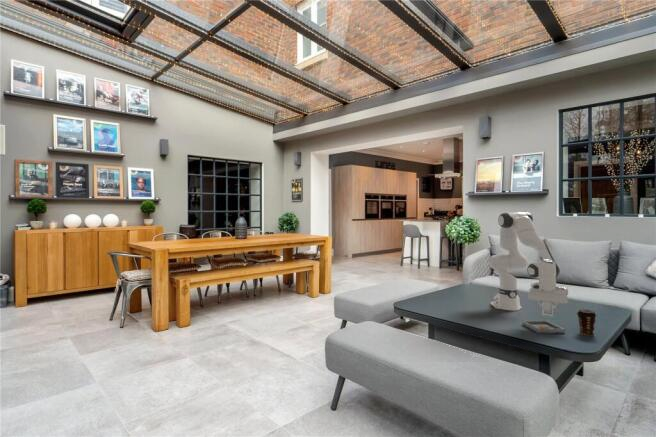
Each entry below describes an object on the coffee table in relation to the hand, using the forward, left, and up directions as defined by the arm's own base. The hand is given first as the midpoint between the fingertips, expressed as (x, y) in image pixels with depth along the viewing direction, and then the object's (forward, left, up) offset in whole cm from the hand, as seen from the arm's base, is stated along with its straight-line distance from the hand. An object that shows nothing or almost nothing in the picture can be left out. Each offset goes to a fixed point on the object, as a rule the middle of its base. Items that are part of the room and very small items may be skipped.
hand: (547, 308), depth 210 cm
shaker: (0, 0, -4) cm, 4 cm away
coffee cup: (+14, +13, -11) cm, 22 cm away
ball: (+9, -8, -8) cm, 15 cm away
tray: (+5, -6, -11) cm, 13 cm away
